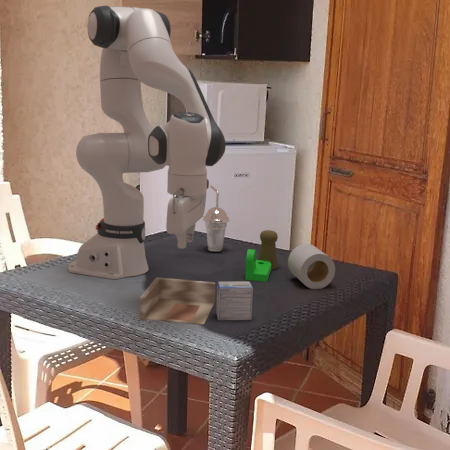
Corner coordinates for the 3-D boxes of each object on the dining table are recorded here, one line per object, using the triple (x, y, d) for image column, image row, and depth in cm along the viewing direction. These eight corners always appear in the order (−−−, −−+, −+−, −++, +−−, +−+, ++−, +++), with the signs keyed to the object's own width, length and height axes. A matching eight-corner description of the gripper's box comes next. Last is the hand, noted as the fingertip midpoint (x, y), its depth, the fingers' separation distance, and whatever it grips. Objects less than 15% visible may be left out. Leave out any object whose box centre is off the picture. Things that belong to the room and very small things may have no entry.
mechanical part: (266, 281, 185) (267, 254, 183) (245, 279, 186) (246, 252, 184) (272, 267, 196) (273, 241, 194) (252, 265, 197) (253, 240, 195)
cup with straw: (200, 252, 211) (203, 190, 206) (202, 244, 219) (204, 185, 215) (227, 253, 210) (230, 191, 206) (228, 246, 219) (231, 186, 214)
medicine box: (248, 315, 160) (250, 280, 158) (251, 322, 156) (253, 287, 154) (215, 315, 159) (217, 281, 157) (218, 322, 155) (219, 287, 153)
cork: (255, 268, 196) (257, 232, 194) (258, 262, 202) (260, 227, 200) (276, 270, 195) (278, 234, 193) (278, 264, 201) (280, 229, 199)
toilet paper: (286, 278, 189) (289, 244, 187) (319, 277, 191) (322, 243, 189) (299, 290, 180) (301, 254, 177) (333, 288, 182) (336, 253, 180)
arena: (139, 321, 154) (140, 297, 152) (155, 299, 168) (156, 277, 167) (203, 327, 152) (204, 303, 150) (214, 304, 166) (215, 282, 165)
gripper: (188, 194, 140) (186, 257, 143) (210, 179, 160) (209, 235, 163) (159, 192, 141) (158, 255, 145) (185, 177, 161) (184, 233, 164)
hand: (185, 244), depth 154 cm, fingers open, 4 cm apart
